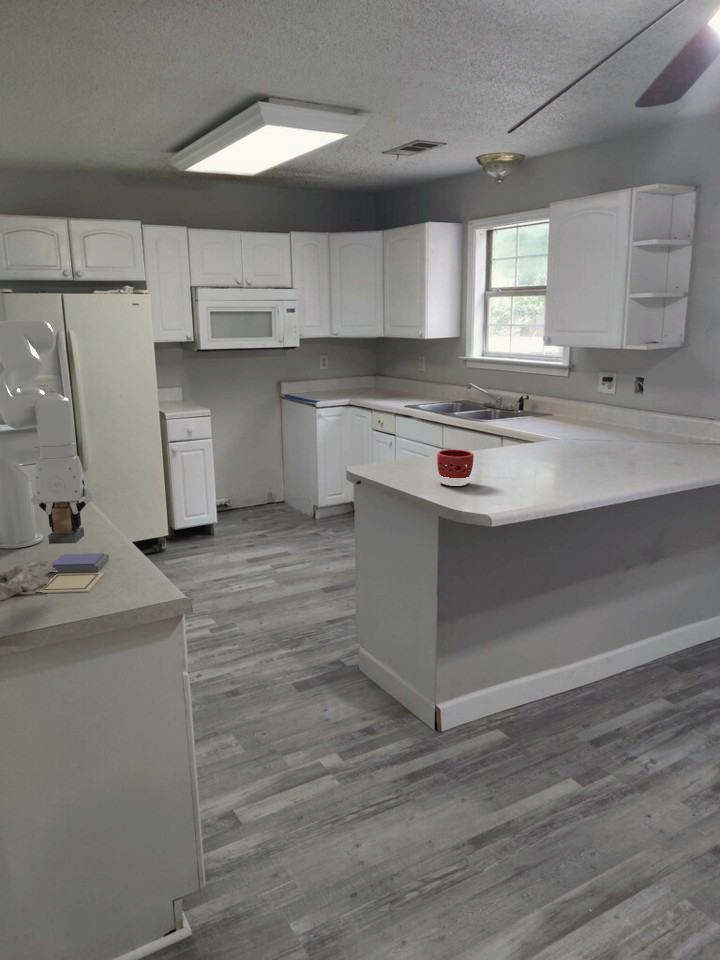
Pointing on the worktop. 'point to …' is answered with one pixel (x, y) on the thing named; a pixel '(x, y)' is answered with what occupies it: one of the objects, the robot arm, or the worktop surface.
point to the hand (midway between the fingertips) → (65, 528)
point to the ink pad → (80, 562)
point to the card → (72, 582)
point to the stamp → (64, 525)
